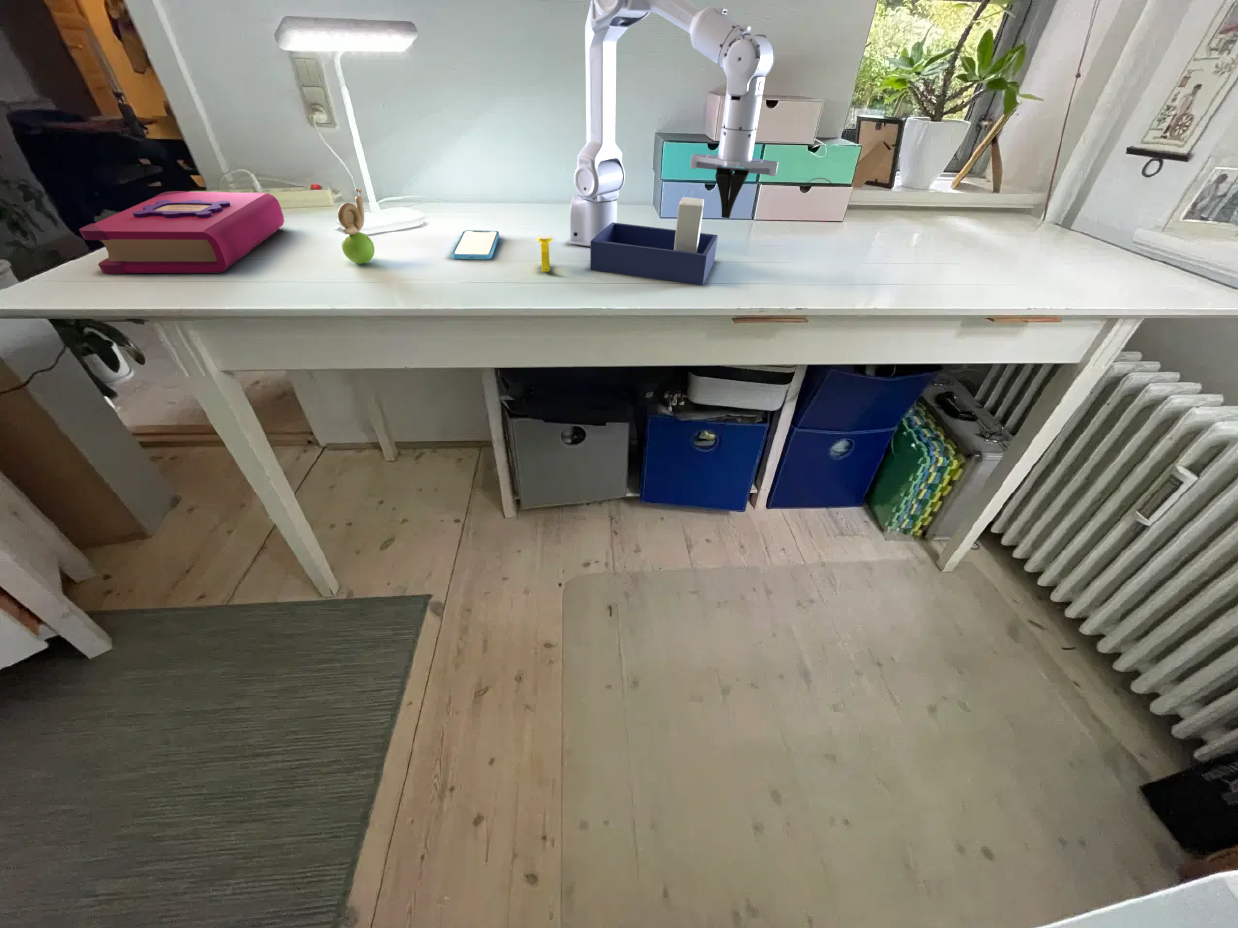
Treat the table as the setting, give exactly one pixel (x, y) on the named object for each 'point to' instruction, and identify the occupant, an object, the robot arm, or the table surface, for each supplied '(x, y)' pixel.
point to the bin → (650, 254)
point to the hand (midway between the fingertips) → (726, 216)
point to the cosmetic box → (688, 224)
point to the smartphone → (476, 245)
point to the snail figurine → (355, 232)
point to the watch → (545, 251)
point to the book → (186, 232)
